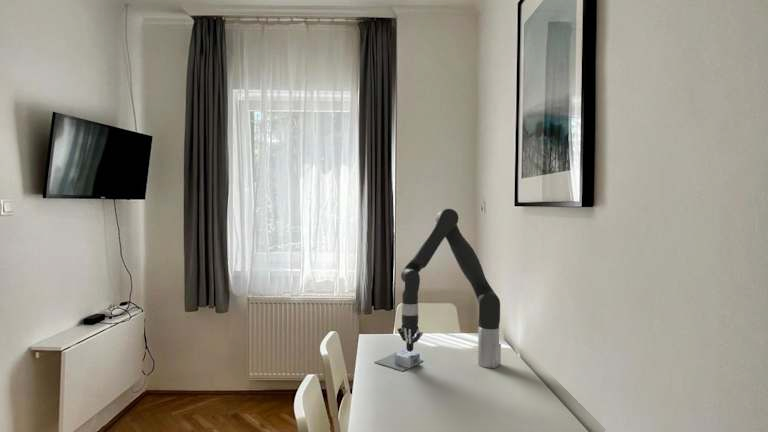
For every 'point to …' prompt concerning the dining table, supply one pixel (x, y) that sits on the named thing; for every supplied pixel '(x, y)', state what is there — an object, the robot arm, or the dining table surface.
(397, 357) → the medicine box
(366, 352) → the dining table surface
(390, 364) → the rubber mat
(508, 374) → the dining table surface
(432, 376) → the dining table surface
